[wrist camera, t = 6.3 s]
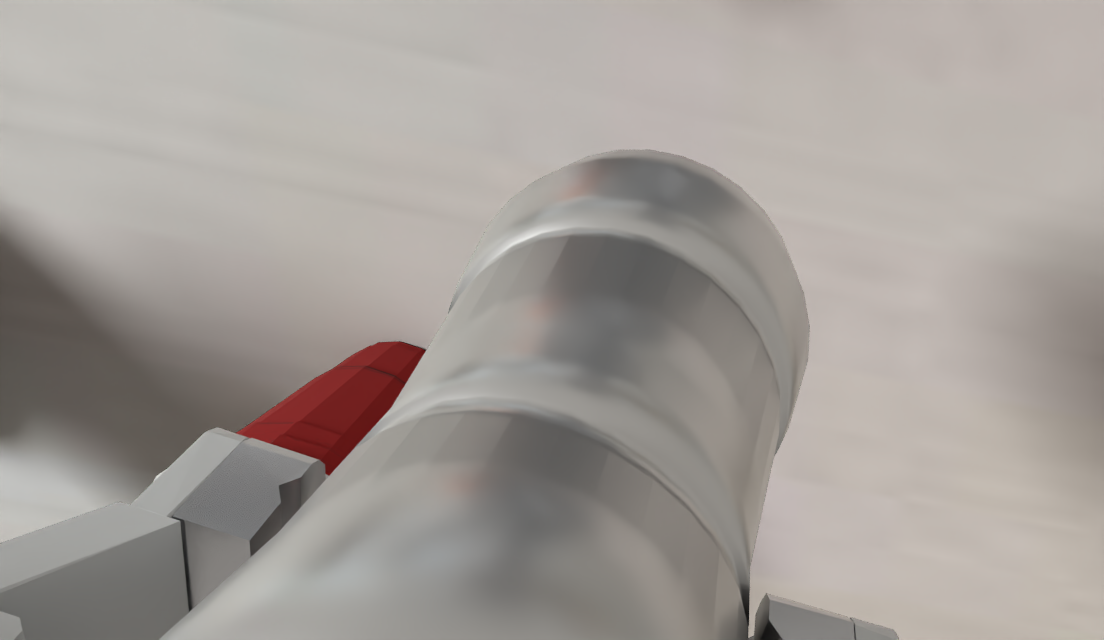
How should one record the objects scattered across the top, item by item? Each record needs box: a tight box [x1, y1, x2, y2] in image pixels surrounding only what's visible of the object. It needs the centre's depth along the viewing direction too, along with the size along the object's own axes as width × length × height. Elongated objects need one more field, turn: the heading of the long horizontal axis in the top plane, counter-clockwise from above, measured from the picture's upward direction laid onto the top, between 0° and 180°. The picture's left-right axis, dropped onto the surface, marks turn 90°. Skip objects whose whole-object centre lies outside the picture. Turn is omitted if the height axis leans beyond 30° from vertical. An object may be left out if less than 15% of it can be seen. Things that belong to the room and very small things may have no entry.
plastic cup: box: [153, 342, 426, 482], centre depth 36 cm, size 11×11×12 cm
